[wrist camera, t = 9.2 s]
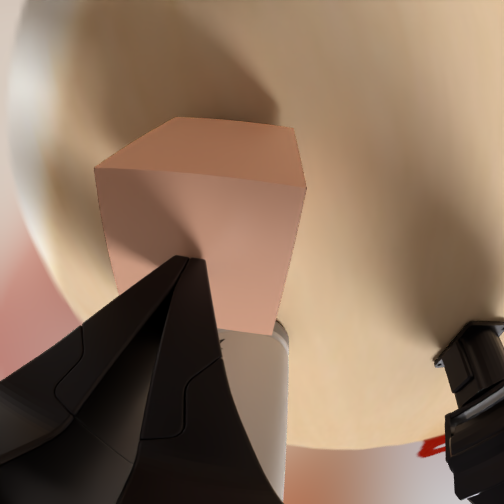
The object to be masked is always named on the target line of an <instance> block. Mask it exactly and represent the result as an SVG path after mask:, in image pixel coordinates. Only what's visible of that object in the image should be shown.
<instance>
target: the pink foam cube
mask: <svg viewBox="0 0 504 504" xmlns="http://www.w3.org/2000/svg"><path fill="white" fill-rule="evenodd" d="M94 172H95V180H96V187H97V194H98V201H99V207H100V213H101V218H102V224H103V229H104V234H105V239H106V244H107V248H108V253H109V257H110V261H111V265H112V270H113V274H114V278H115V281H116V285H117V289H118V292H119V295H121V294H122V293H123V292H125V291H126V290H127V289H129V288H130V287H131V286H133V285H134V284H135V283H137V282H138V281H140V280H141V279H142V278H144V277H145V276H146V275H148V274H149V273H151V272H152V271H153V270H155V269H156V268H157V267H159V266H160V265H162V264H163V263H164V262H166V261H167V260H169V259H170V258H171V257H173V256H175V255H180V256H187V257H189V258H200V259H205V261H206V265H207V271H208V277H209V283H210V289H211V295H212V301H213V307H214V312H215V318H216V323H217V328H220V329H226V330H233V331H240V332H247V333H255V334H263V335H271V336H272V332H273V329H274V325H275V321H276V317H277V313H278V309H279V306H280V302H281V298H282V294H283V290H284V286H285V282H286V277H287V273H288V269H289V265H290V261H291V257H292V252H293V248H294V244H295V239H296V235H297V231H298V226H299V222H300V217H301V213H302V208H303V204H304V199H305V194H306V189H307V187H306V182H305V177H304V172H303V168H302V163H301V158H300V154H299V149H298V145H297V141H296V136H295V132H294V128H289V127H282V126H276V125H268V124H261V123H252V122H243V121H233V120H222V119H209V118H192V117H175V118H173V119H171V120H169V121H167V122H166V123H164V124H162V125H160V126H158V127H157V128H155V129H153V130H152V131H150V132H148V133H146V134H145V135H143V136H141V137H140V138H138V139H137V140H135V141H133V142H132V143H130V144H129V145H127V146H125V147H124V148H122V149H121V150H119V151H118V152H116V153H115V154H113V155H112V156H110V157H109V158H107V159H106V160H104V161H103V162H101V163H100V164H99V165H97V166H96V167H94Z"/></svg>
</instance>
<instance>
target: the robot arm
mask: <svg viewBox="0 0 504 504" xmlns="http://www.w3.org/2000/svg"><path fill="white" fill-rule="evenodd" d="M503 332H504V322H469V323H468V324H466V326H465V327H464V328H463V329H462V331H461V332H460V333H459V334H458V336H457V337H456V338H455V339H454V340H453V342H452V343H451V344H450V345H449V346H448V348H447V349H446V350H445V351H444V352H443V353H442V354H441V356H440V357H439V358H438V359H437V360H436V361H435V362H434V365H435V367H436V368H439V367H445V371H446V374H447V377H448V380H449V384H450V387H451V391H452V393H454V394H455V397H456V401H457V405H458V408H459V409H457V410H455V411H454V412H452V413H448V414H446V415H445V444H446V462H447V463H448V465H449V467H450V470H451V471H452V472H453V474H454V488H455V494H456V496H457V497H458V498H459V499H460V500H464V499H468V500H469V501H470V502H471V503H472V504H504V347H503V345H502V342H501V340H500V338H499V336H500V335H501V334H502V333H503ZM0 504H284V503H283V502H282V500H281V499H280V498H279V496H278V495H277V493H276V492H275V490H274V489H273V487H272V485H271V484H270V482H269V480H268V478H267V476H266V475H265V473H264V471H263V469H262V467H261V465H260V462H259V460H258V458H257V456H256V453H255V451H254V449H253V447H252V444H251V442H250V440H249V437H248V435H247V433H246V430H245V428H244V425H243V423H242V421H241V418H240V416H239V413H238V410H237V407H236V405H235V402H234V399H233V396H232V393H231V389H230V386H229V382H228V378H227V374H226V369H225V364H224V360H223V355H222V350H221V345H220V339H219V334H218V329H217V323H216V318H215V312H214V307H213V301H212V295H211V289H210V283H209V277H208V271H207V265H206V261H205V259H200V258H189V257H187V256H180V255H175V256H173V257H171V258H170V259H169V260H167V261H166V262H164V263H163V264H162V265H160V266H159V267H157V268H156V269H155V270H153V271H152V272H151V273H149V274H148V275H146V276H145V277H144V278H142V279H141V280H140V281H138V282H137V283H135V284H134V285H133V286H131V287H130V288H129V289H127V290H126V291H125V292H123V293H122V294H121V295H119V296H118V297H117V298H115V299H114V300H113V301H111V302H110V303H109V304H107V305H106V306H105V307H103V308H102V309H101V310H99V311H98V312H97V313H95V314H94V315H93V316H92V317H90V318H89V319H88V320H86V321H85V322H84V323H83V324H82V326H81V325H80V326H79V327H77V328H76V329H75V330H73V331H72V332H71V333H70V334H68V335H67V336H66V337H64V338H63V339H62V340H61V341H59V342H58V343H56V344H55V345H54V346H52V347H51V348H49V349H48V350H46V351H45V352H43V353H42V354H41V355H39V356H38V357H36V358H35V359H33V360H32V361H30V362H29V363H27V364H26V365H24V366H22V367H21V368H20V369H18V370H17V371H15V372H13V373H12V374H11V375H9V376H8V377H6V378H5V379H3V380H1V381H0Z"/></svg>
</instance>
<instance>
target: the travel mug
mask: <svg viewBox="0 0 504 504" xmlns="http://www.w3.org/2000/svg"><path fill="white" fill-rule="evenodd" d="M217 329H218V334H219V339H220V345H221V350H222V355H223V360H224V364H225V369H226V374H227V378H228V382H229V386H230V389H231V393H232V396H233V399H234V402H235V405H236V407H237V410H238V413H239V416H240V418H241V421H242V423H243V425H244V428H245V430H246V433H247V435H248V437H249V440H250V442H251V444H252V447H253V449H254V451H255V453H256V456H257V458H258V460H259V462H260V465H261V467H262V469H263V471H264V473H265V475H266V476H267V478H268V480H269V482H270V484H271V485H272V487H273V489H274V490H275V492H276V493H277V495H278V496H279V498H280V499H281V500H282V502H283V492H284V478H285V460H286V459H285V458H286V439H287V413H288V373H289V357H288V355H289V337H288V334H287V332H286V331H285V329H284V328H283V327H282V326H281V325H280V324H279V323H278V322H276V321H275V325H274V329H273V332H272V336H271V335H263V334H255V333H247V332H240V331H233V330H226V329H220V328H217Z"/></svg>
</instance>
